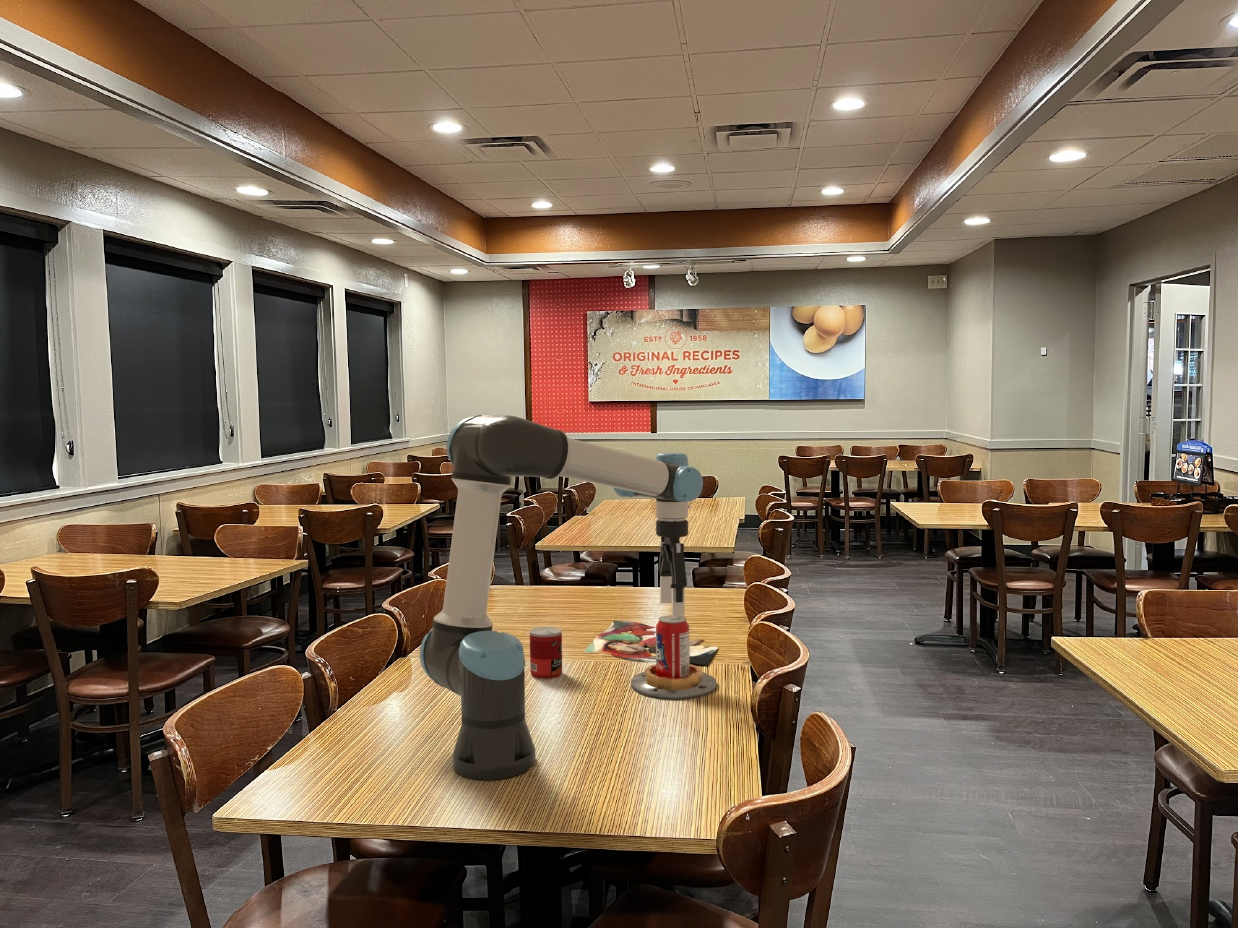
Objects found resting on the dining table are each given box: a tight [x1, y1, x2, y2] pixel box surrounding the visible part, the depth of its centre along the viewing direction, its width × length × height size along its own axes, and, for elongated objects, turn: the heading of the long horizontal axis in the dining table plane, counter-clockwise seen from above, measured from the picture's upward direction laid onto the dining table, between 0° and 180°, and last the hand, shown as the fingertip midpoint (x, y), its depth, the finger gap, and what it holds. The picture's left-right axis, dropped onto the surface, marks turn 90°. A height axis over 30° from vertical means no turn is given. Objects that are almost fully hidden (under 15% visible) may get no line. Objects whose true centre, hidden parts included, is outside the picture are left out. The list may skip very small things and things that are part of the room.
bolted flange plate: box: [630, 663, 717, 700], centre depth 203 cm, size 20×20×4 cm
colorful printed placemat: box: [583, 620, 719, 666], centre depth 238 cm, size 35×35×2 cm
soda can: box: [655, 614, 691, 678], centre depth 202 cm, size 8×8×15 cm
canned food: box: [529, 626, 563, 680], centre depth 212 cm, size 8×8×11 cm
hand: (671, 609), depth 201 cm, fingers open, 13 cm apart
